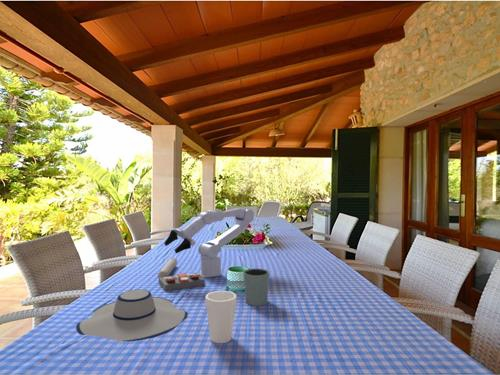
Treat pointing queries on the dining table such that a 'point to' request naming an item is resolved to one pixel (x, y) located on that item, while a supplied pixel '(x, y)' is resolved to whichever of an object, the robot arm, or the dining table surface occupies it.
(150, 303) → the sun hat
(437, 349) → the dining table surface
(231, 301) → the foam cup
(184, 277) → the rocker
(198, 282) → the switch panel
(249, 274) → the grey-green pot
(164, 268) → the tube
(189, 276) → the rocker
